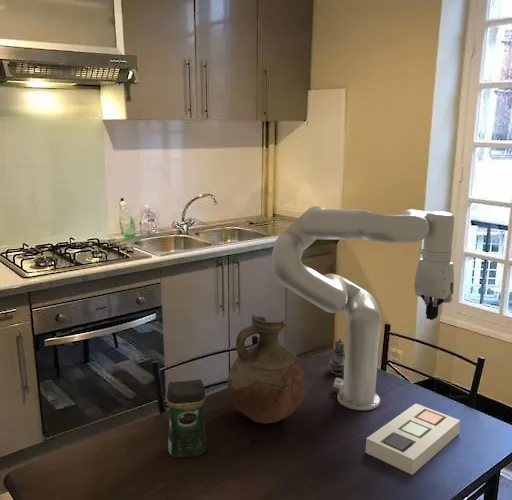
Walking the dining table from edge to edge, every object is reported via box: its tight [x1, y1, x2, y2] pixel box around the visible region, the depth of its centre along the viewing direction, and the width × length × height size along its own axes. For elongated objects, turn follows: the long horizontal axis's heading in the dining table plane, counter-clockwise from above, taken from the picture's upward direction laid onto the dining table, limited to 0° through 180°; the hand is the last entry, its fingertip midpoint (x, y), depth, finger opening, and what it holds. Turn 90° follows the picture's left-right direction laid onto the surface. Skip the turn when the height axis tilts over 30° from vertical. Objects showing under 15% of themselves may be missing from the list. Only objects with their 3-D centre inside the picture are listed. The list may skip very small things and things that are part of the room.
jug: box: [227, 314, 307, 425], centre depth 152 cm, size 22×22×30 cm
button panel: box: [365, 403, 461, 476], centre depth 144 cm, size 13×26×4 cm, turn 136°
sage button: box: [401, 422, 428, 439], centre depth 144 cm, size 5×5×2 cm
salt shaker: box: [329, 338, 345, 374], centre depth 184 cm, size 6×6×12 cm
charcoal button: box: [384, 434, 412, 452], centre depth 138 cm, size 5×5×2 cm
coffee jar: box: [165, 378, 207, 459], centre depth 137 cm, size 10×8×19 cm
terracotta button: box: [417, 411, 443, 426], centre depth 150 cm, size 5×5×2 cm
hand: (431, 318), depth 158 cm, fingers closed
